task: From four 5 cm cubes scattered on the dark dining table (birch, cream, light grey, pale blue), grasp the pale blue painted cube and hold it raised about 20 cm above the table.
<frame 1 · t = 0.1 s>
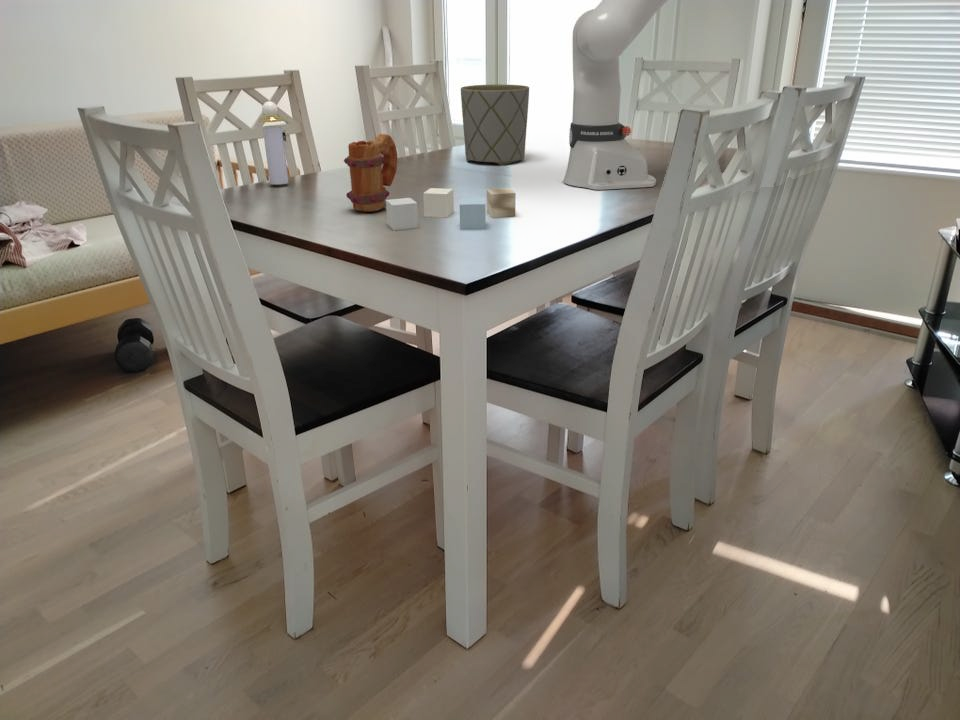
cream cube: (439, 214, 154), on the table
grey cube: (402, 226, 146), on the table
perfume bottle: (279, 186, 183), on the table
mug: (376, 208, 161), on the table
birch cube: (501, 215, 154), on the table
pale blue cube: (472, 226, 145), on the table
planter: (495, 161, 212), on the table
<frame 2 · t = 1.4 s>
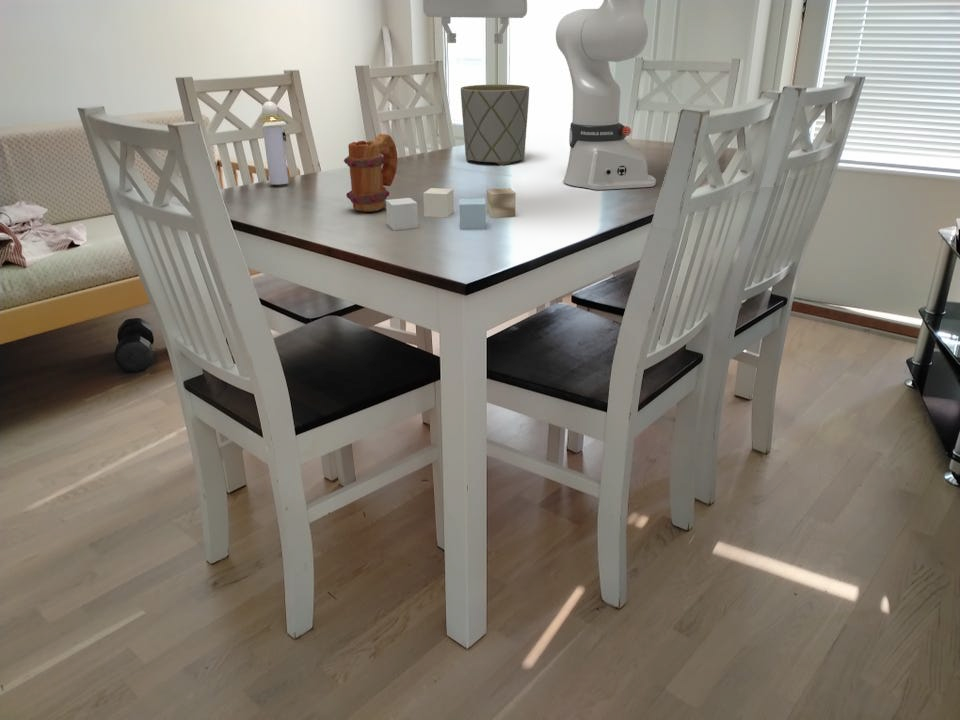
hand: (474, 43, 145), 33 cm above the table, fingers open, 8 cm apart
nothing on the table moved.
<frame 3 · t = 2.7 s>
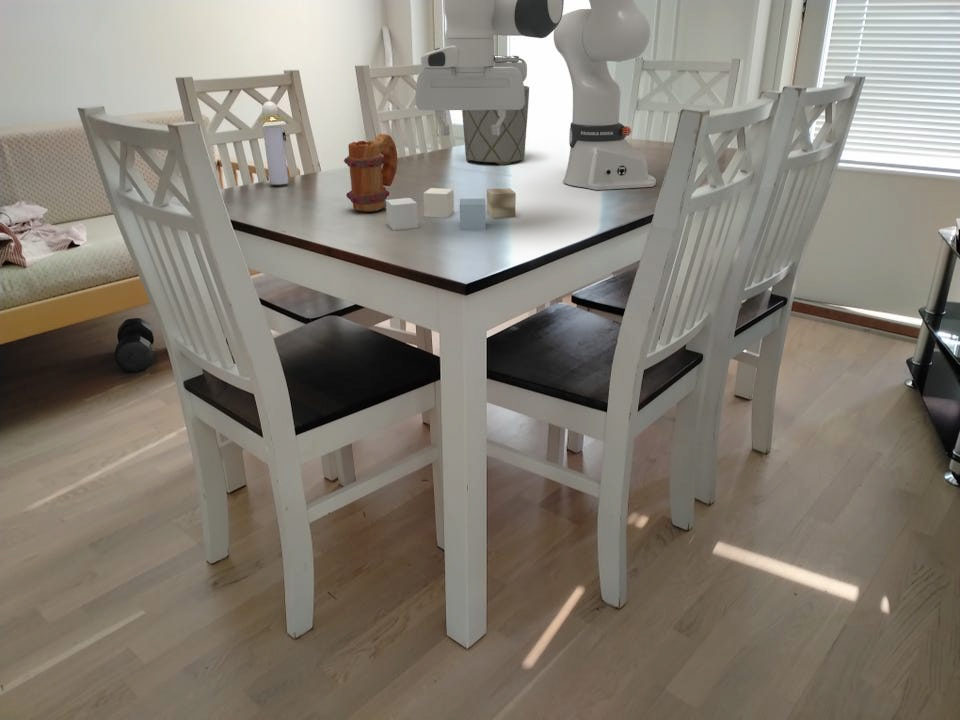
hand: (470, 135, 138), 17 cm above the table, fingers open, 8 cm apart
nothing on the table moved.
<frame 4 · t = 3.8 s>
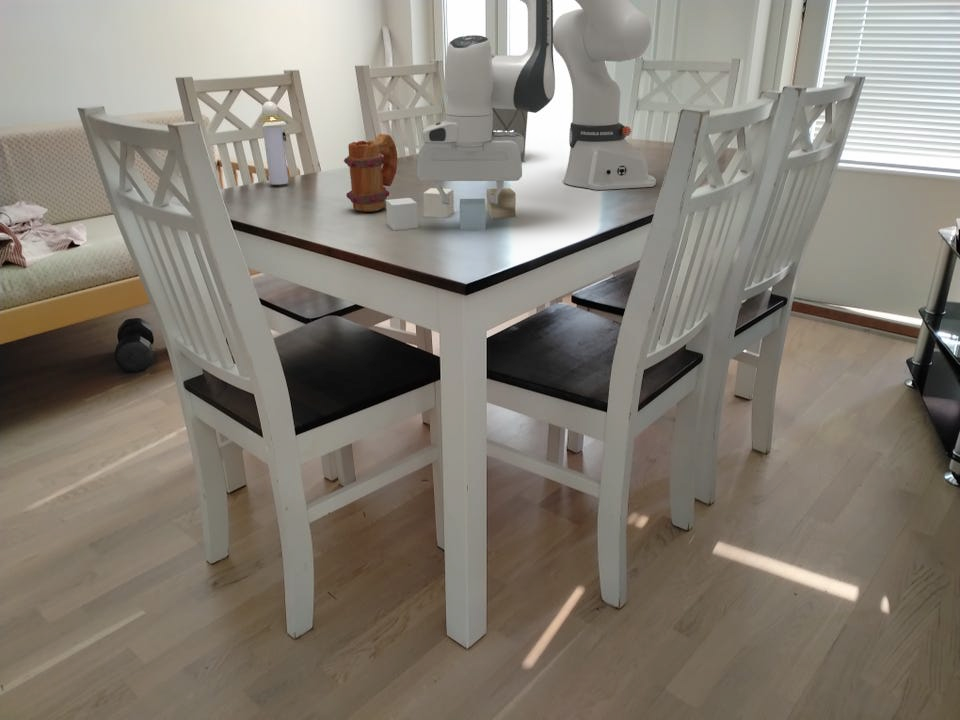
hand: (469, 203, 143), 4 cm above the table, fingers open, 8 cm apart
nothing on the table moved.
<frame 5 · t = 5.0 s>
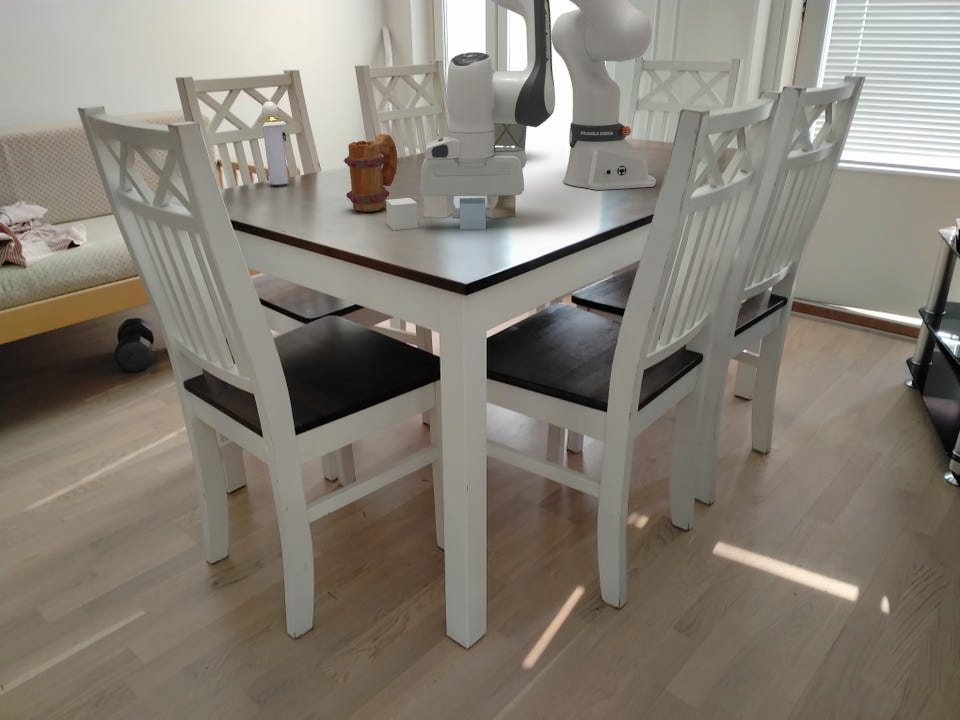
hand: (472, 217, 145), 2 cm above the table, fingers closed on pale blue cube, 5 cm apart
pale blue cube: (472, 226, 145), on the table, touching gripper
everything else where it was.
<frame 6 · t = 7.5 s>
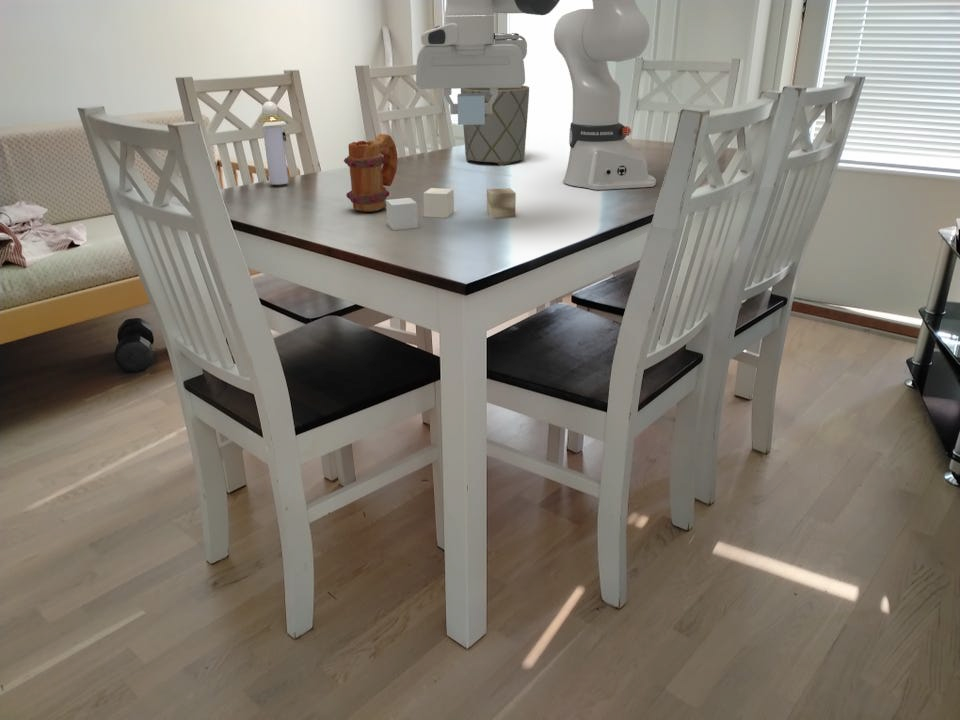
hand: (471, 113, 138), 21 cm above the table, fingers closed on pale blue cube, 5 cm apart
pale blue cube: (471, 122, 139), point 19 cm above the table, touching gripper
everything else where it was.
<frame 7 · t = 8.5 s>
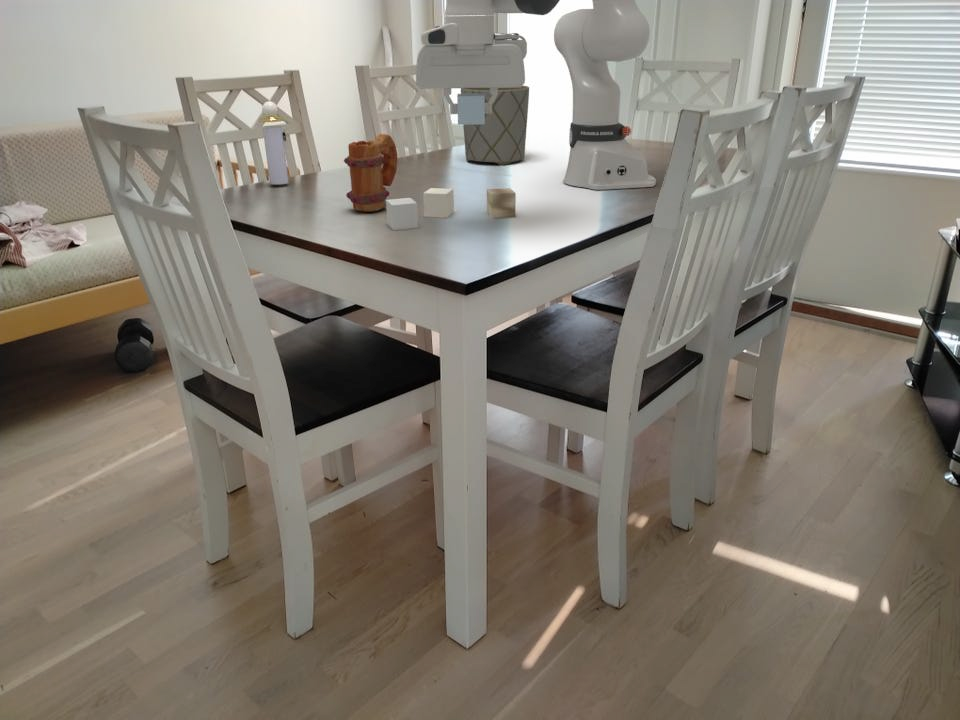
hand: (471, 113, 138), 21 cm above the table, fingers closed on pale blue cube, 5 cm apart
pale blue cube: (471, 122, 139), point 19 cm above the table, touching gripper
everything else where it was.
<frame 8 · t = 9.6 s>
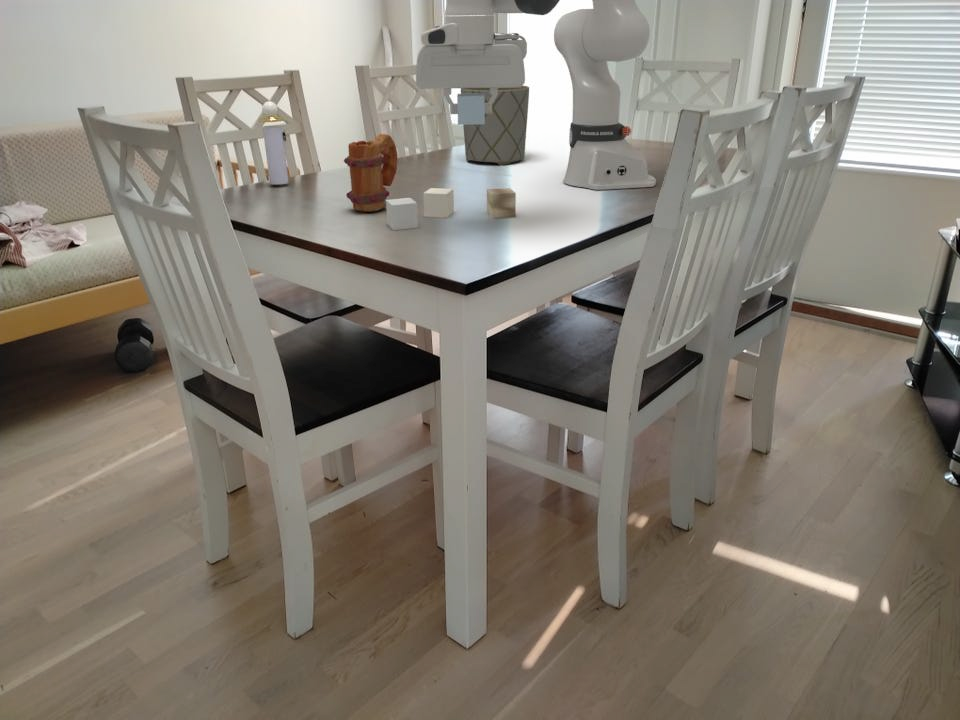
hand: (471, 113, 138), 21 cm above the table, fingers closed on pale blue cube, 5 cm apart
pale blue cube: (471, 122, 139), point 19 cm above the table, touching gripper
everything else where it was.
at the end: the gripper is holding pale blue cube; pale blue cube point 19.4 cm above the table; birch cube moved 0.1 cm from its start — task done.
